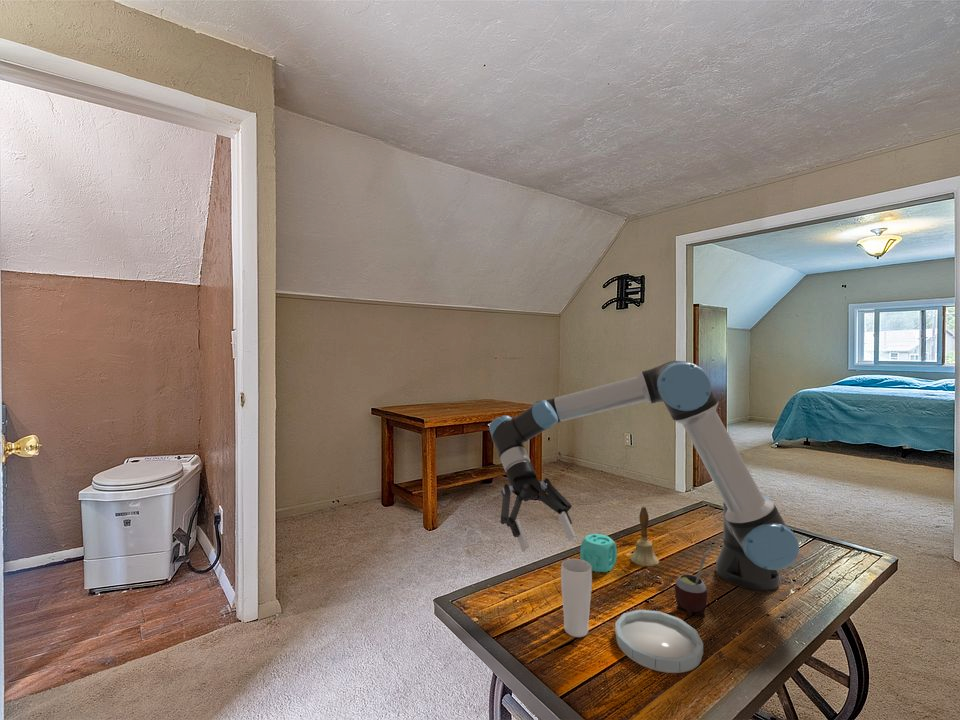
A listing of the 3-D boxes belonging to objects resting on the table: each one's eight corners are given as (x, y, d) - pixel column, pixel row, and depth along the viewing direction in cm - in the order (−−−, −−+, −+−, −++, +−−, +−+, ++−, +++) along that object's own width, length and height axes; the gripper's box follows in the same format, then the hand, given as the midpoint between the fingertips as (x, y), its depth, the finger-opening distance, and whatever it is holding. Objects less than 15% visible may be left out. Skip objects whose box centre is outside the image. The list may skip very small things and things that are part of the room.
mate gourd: (672, 614, 108) (672, 552, 107) (678, 599, 114) (679, 540, 114) (706, 625, 103) (707, 560, 103) (711, 608, 110) (712, 548, 109)
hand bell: (637, 567, 131) (638, 513, 130) (625, 554, 139) (625, 503, 138) (664, 565, 132) (665, 511, 131) (650, 553, 140) (650, 502, 140)
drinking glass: (592, 642, 97) (592, 574, 97) (560, 638, 99) (560, 571, 98) (591, 623, 104) (591, 559, 104) (561, 620, 105) (561, 557, 105)
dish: (687, 624, 104) (687, 613, 104) (713, 677, 87) (714, 665, 87) (611, 617, 106) (611, 607, 106) (622, 667, 90) (622, 655, 90)
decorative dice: (591, 557, 137) (592, 531, 137) (617, 565, 132) (617, 538, 132) (579, 567, 131) (579, 539, 131) (605, 575, 126) (605, 547, 126)
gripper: (550, 469, 131) (583, 540, 118) (472, 480, 120) (499, 560, 107) (561, 455, 126) (597, 527, 113) (481, 465, 115) (510, 546, 102)
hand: (549, 543), depth 110 cm, fingers open, 13 cm apart
